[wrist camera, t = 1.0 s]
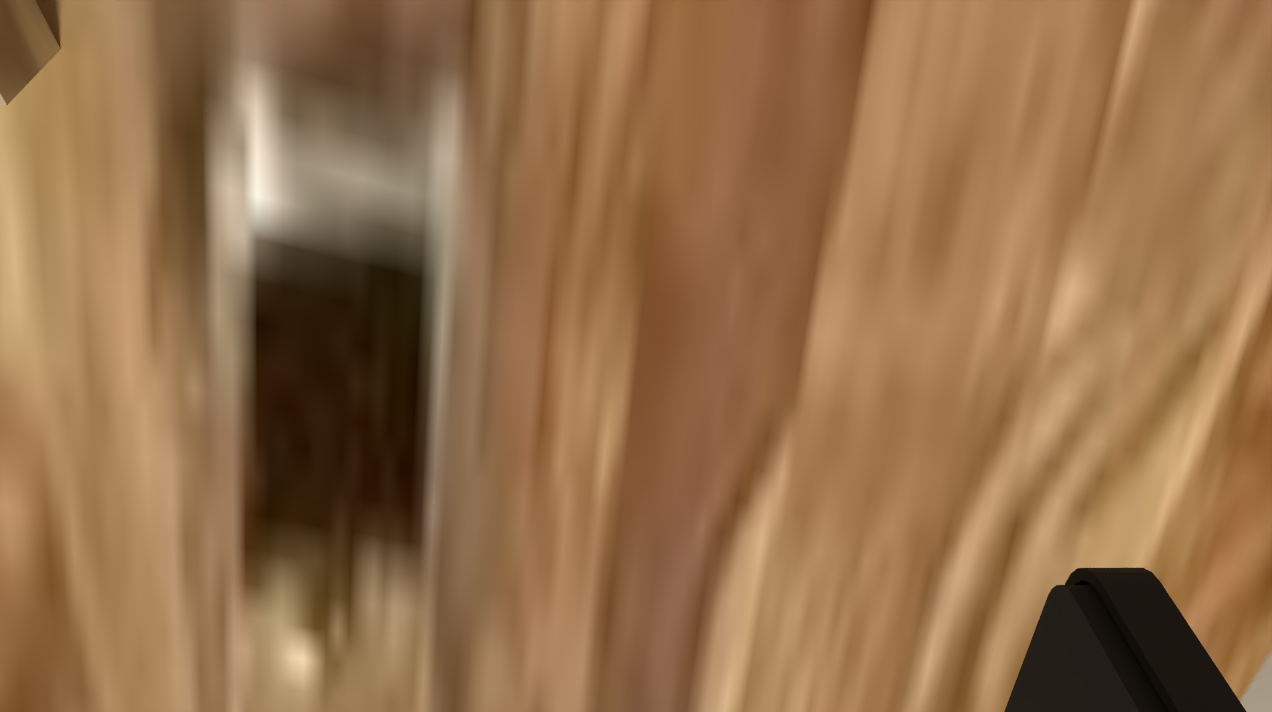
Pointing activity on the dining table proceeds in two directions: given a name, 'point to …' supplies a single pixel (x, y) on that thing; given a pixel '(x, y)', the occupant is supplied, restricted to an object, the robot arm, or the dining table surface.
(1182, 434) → the dining table surface
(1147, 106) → the dining table surface
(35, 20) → the tan block
